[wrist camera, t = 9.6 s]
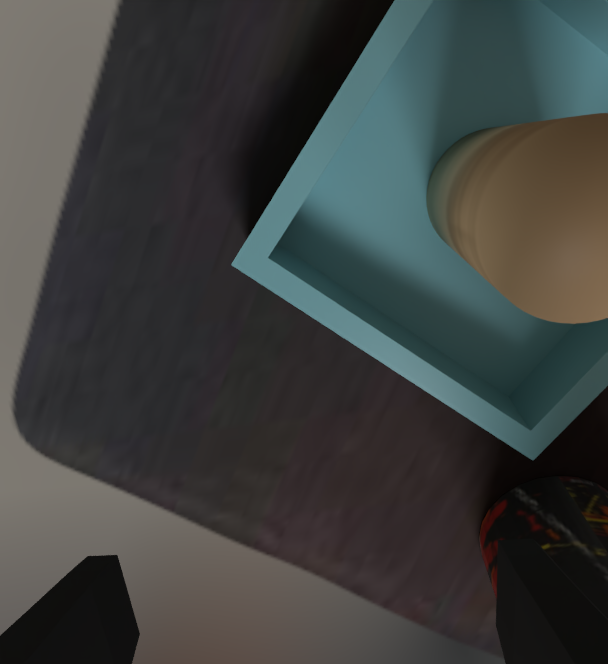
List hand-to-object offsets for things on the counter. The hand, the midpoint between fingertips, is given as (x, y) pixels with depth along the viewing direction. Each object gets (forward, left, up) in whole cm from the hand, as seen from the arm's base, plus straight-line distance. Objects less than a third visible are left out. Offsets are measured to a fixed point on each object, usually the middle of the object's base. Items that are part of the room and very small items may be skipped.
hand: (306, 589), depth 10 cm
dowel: (-1, -8, -10) cm, 13 cm away
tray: (-1, -8, -11) cm, 13 cm away
